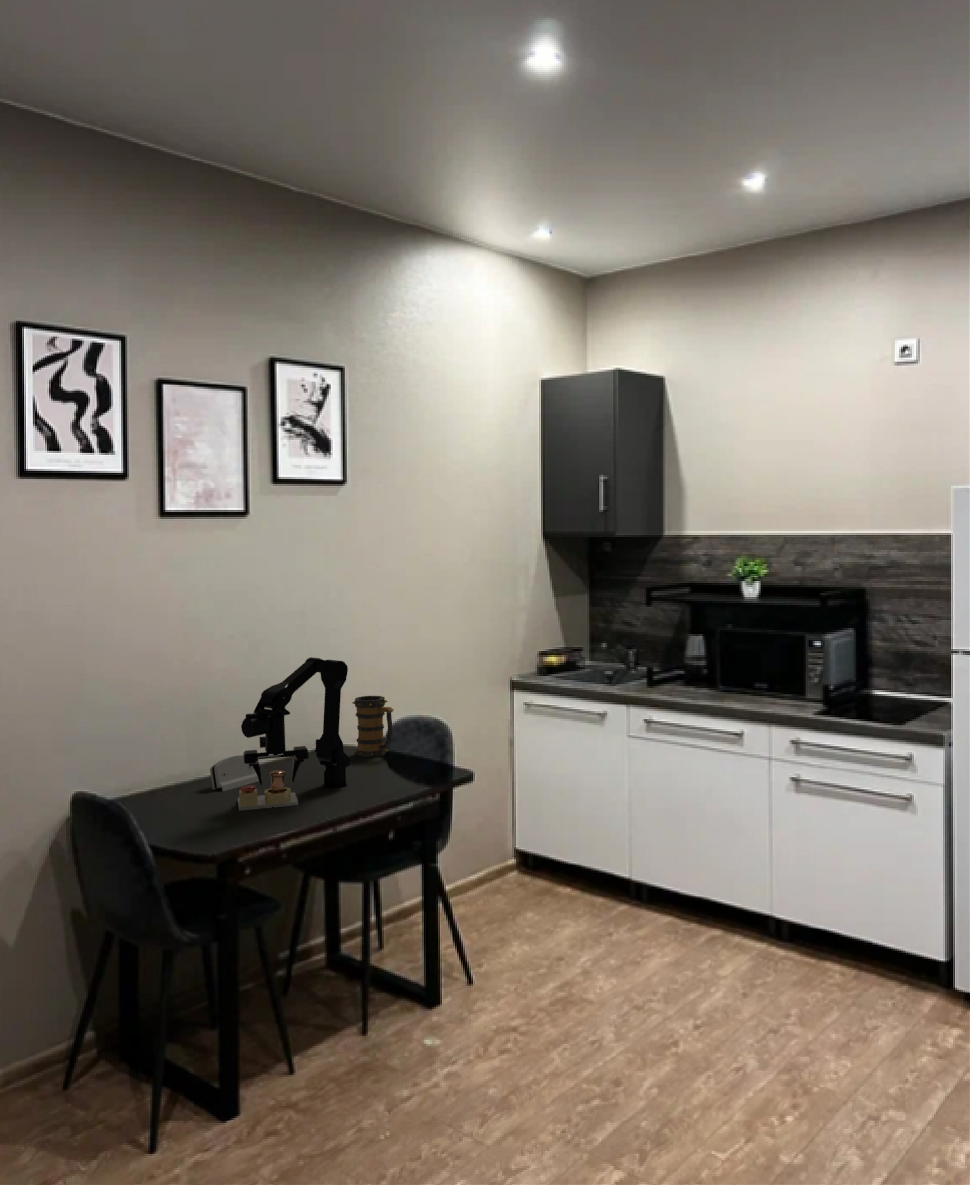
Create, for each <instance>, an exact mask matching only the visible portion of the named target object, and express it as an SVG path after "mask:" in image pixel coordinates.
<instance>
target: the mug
mask: <svg viewBox="0 0 970 1185" xmlns="http://www.w3.org/2000/svg"><path fill="white" fill-rule="evenodd" d="M385 698H386V697H385V696H383V695H364V696H363V695H362V696H357V697H355V698H354V701H353V702H351V703H352V704H354V707H356V712H355V717H357V726H356V728H357V730H358V731H357V732H358V734H357V735H358V737H357V739H355V740H356V743H357V748H356V750H354V751H353V753H355V754H356V756H358V757H363V758H376V757H382V756H384V755H386V754H387V752H389V751H390V750H389V749H388V748H389V747H390V746H391V743H392V739H393V732H394V729H393V720H392V713H393V712H394V711H395V709H394V708H392V707H391V706H385V705H386V703H388V700H386V699H385ZM385 715H386V723H387V736H386V737H385V736H384V728H385V725H384V723H383V722H384V721H383V720H384V716H385Z"/></svg>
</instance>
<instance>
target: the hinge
mask: <svg viewBox="0 0 970 1185" xmlns="http://www.w3.org/2000/svg"><path fill="white" fill-rule="evenodd" d="M209 772H210V780H211V787H212V790H217V789H220V788H221V790H222V792H226V791H230V790H233V789H236V788H241V787H242V786H246V785H252V784H254V783H257V782H259V779H258V776H257V774H256V772H255V770H254V768H253V766H249V764H244V756H243V755H233V756H229V757H226V758H223V759H222V760H221V759H220V760H219V761H218V762H216V763H214V764H213V765H212V766H211V767H210V768H209ZM261 778H262V779H263V777H262V775H261Z"/></svg>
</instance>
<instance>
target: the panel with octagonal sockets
mask: <svg viewBox="0 0 970 1185" xmlns="http://www.w3.org/2000/svg"><path fill="white" fill-rule="evenodd" d="M238 792H239V797H237V805H238V806H237V807H238V811H249V810H263V809H272V807H274V808H282V807H284V808H285V807H293V806H299V801H298V798H297V795H296V792H292V790H291V788H290V787H285V792H282V793H271V787H270V788H267V789H264V794H263V795H258V789H257V788H256V785H254V784H247V785H244V786H240V789H239V791H238ZM262 808H263V809H262Z"/></svg>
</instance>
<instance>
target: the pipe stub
mask: <svg viewBox="0 0 970 1185" xmlns="http://www.w3.org/2000/svg"><path fill="white" fill-rule="evenodd" d="M269 776H270V788H271V793H282V792H285V783H286V782H285V776H286V771H284V770H272V771H270V772H269Z"/></svg>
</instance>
